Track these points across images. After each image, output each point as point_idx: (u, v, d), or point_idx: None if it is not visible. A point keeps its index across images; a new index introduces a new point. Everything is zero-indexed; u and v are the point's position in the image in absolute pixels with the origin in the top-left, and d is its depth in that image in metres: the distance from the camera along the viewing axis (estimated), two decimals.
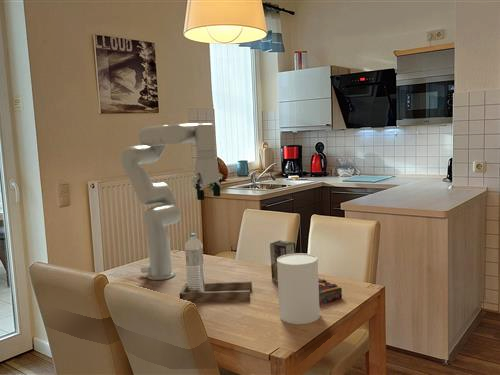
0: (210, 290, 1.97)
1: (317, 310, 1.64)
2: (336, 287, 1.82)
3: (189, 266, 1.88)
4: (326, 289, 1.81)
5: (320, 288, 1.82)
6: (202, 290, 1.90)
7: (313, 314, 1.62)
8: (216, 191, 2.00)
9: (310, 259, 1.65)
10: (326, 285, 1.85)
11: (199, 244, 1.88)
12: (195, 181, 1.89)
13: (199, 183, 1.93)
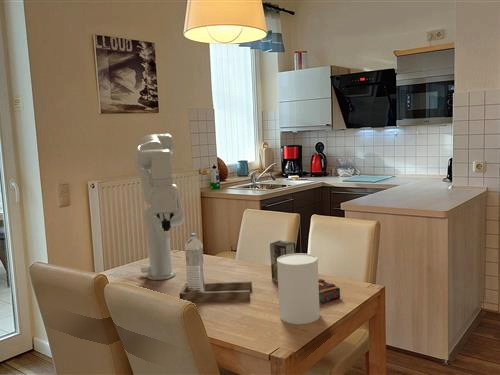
0: (210, 290, 1.97)
1: (317, 310, 1.64)
2: (334, 287, 1.83)
3: (189, 266, 1.88)
4: (324, 289, 1.81)
5: None
6: (202, 290, 1.90)
7: (313, 314, 1.62)
8: None
9: (310, 259, 1.65)
10: (324, 285, 1.86)
11: (199, 244, 1.88)
12: None
13: (170, 213, 1.88)
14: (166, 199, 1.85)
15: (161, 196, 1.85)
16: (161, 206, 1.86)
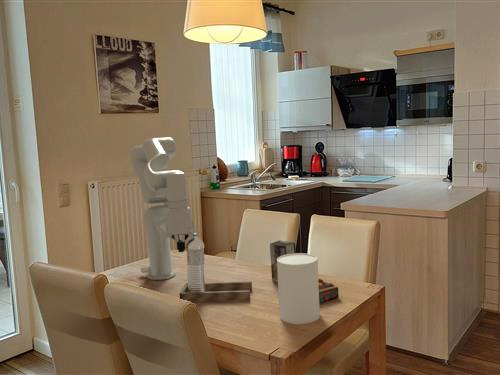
0: (210, 290, 1.97)
1: (317, 310, 1.64)
2: (333, 286, 1.83)
3: (190, 266, 1.88)
4: (323, 289, 1.81)
5: None
6: (202, 290, 1.90)
7: (313, 314, 1.62)
8: None
9: (310, 259, 1.65)
10: (323, 284, 1.86)
11: (201, 244, 1.88)
12: None
13: None
14: (181, 221, 1.86)
15: (176, 218, 1.86)
16: (176, 228, 1.87)
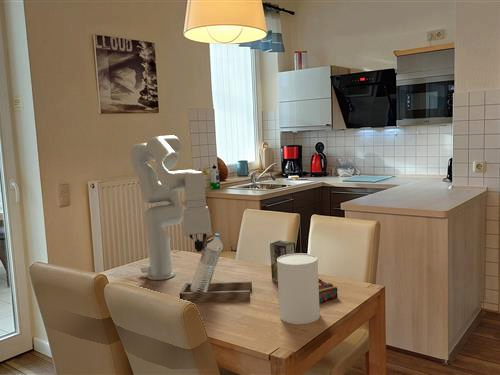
0: (210, 290, 1.97)
1: (317, 310, 1.64)
2: (332, 286, 1.83)
3: (202, 263, 1.88)
4: (322, 289, 1.81)
5: None
6: (205, 290, 1.90)
7: (313, 314, 1.62)
8: None
9: (310, 259, 1.65)
10: (322, 285, 1.86)
11: (220, 247, 1.88)
12: None
13: (203, 234, 1.89)
14: (199, 221, 1.86)
15: (195, 218, 1.86)
16: (194, 227, 1.86)
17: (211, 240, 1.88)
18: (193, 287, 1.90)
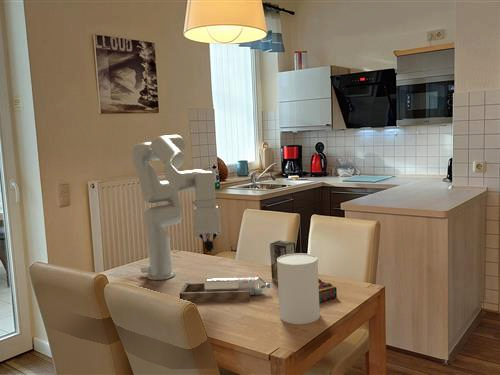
0: None
1: (317, 310, 1.64)
2: (331, 286, 1.83)
3: (237, 283, 1.89)
4: (321, 289, 1.81)
5: None
6: None
7: (313, 314, 1.62)
8: None
9: (310, 259, 1.65)
10: (321, 284, 1.86)
11: (259, 293, 1.89)
12: None
13: (213, 234, 1.89)
14: (209, 220, 1.85)
15: (205, 218, 1.85)
16: (205, 227, 1.86)
17: (262, 282, 1.89)
18: (211, 282, 1.90)
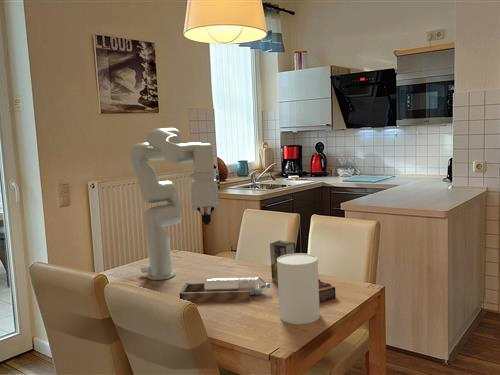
0: None
1: (317, 310, 1.64)
2: (330, 286, 1.84)
3: (237, 283, 1.89)
4: (320, 289, 1.82)
5: None
6: None
7: (313, 314, 1.62)
8: None
9: (310, 259, 1.65)
10: (320, 284, 1.86)
11: (259, 293, 1.89)
12: None
13: (210, 207, 1.87)
14: (207, 193, 1.84)
15: (203, 190, 1.84)
16: (202, 200, 1.85)
17: (262, 282, 1.89)
18: (211, 282, 1.90)
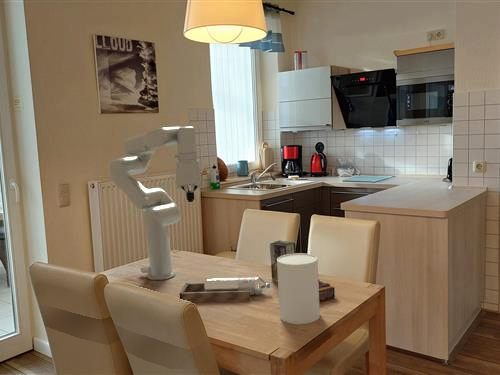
0: None
1: (317, 310, 1.64)
2: (329, 286, 1.84)
3: (237, 283, 1.89)
4: (319, 289, 1.82)
5: None
6: None
7: (313, 314, 1.62)
8: None
9: (310, 259, 1.65)
10: (319, 284, 1.86)
11: (259, 293, 1.89)
12: None
13: None
14: (190, 172, 2.00)
15: (186, 170, 2.00)
16: (186, 178, 2.00)
17: (262, 282, 1.89)
18: (211, 282, 1.90)
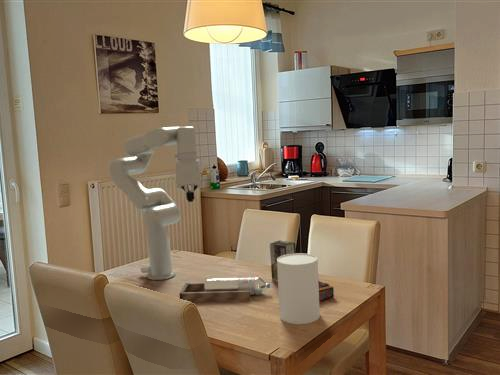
0: None
1: (317, 310, 1.64)
2: (328, 286, 1.84)
3: (237, 283, 1.89)
4: None
5: None
6: None
7: (313, 314, 1.62)
8: None
9: (310, 259, 1.65)
10: None
11: (259, 293, 1.89)
12: None
13: (194, 185, 2.03)
14: (190, 172, 2.00)
15: (186, 169, 2.00)
16: (186, 178, 2.00)
17: (262, 282, 1.89)
18: (211, 282, 1.90)
